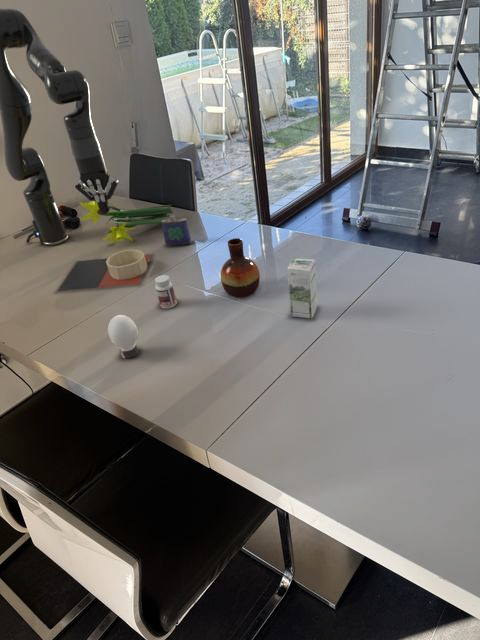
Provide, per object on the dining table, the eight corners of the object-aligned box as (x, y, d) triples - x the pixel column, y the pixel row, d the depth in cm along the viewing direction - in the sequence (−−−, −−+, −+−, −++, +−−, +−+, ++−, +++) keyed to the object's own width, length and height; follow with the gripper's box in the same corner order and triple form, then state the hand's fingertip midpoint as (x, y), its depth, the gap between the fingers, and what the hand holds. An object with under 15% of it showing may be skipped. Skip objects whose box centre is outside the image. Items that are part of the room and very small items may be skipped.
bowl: (106, 281, 150) (101, 268, 147) (115, 263, 159) (111, 251, 157) (143, 278, 149) (139, 265, 146) (150, 260, 159) (147, 248, 156)
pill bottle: (170, 298, 138) (163, 272, 133) (180, 303, 135) (173, 277, 130) (157, 305, 136) (149, 279, 131) (166, 310, 133) (159, 284, 128)
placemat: (57, 292, 148) (57, 291, 148) (78, 262, 164) (77, 261, 164) (139, 285, 147) (138, 283, 146) (151, 255, 162) (151, 254, 162)
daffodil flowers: (187, 228, 180) (100, 238, 157) (168, 241, 191) (84, 252, 168) (173, 185, 179) (84, 188, 156) (155, 200, 190) (69, 205, 167)
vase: (267, 283, 139) (262, 234, 130) (251, 303, 131) (244, 252, 122) (234, 279, 143) (226, 231, 134) (216, 298, 135) (207, 248, 126)
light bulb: (119, 365, 115) (105, 328, 108) (114, 350, 120) (101, 314, 113) (146, 356, 117) (134, 319, 110) (140, 342, 122) (129, 306, 115)
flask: (192, 241, 168) (186, 212, 162) (191, 245, 166) (184, 215, 159) (167, 243, 169) (159, 214, 162) (165, 247, 167) (158, 218, 160)
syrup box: (317, 307, 126) (315, 258, 117) (312, 320, 122) (309, 269, 113) (296, 305, 128) (293, 256, 119) (290, 317, 124) (286, 268, 115)
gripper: (114, 147, 135) (130, 206, 146) (69, 151, 136) (88, 210, 147) (107, 155, 129) (124, 216, 140) (60, 159, 130) (80, 219, 141)
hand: (105, 212), depth 143 cm, fingers closed
